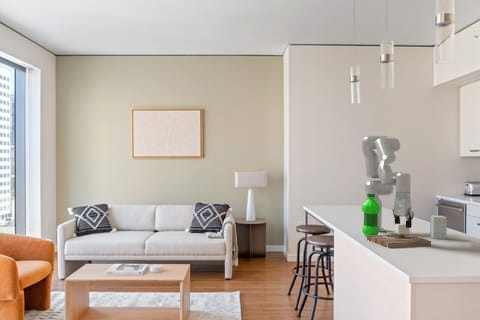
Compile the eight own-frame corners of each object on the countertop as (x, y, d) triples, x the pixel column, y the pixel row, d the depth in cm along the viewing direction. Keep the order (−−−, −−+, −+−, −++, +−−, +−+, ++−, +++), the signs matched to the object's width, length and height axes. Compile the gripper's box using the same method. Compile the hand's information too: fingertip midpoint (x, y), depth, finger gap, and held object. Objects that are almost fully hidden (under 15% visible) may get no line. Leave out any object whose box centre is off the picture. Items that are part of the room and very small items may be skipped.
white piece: (385, 236, 226) (385, 224, 226) (405, 235, 230) (406, 223, 230) (388, 237, 224) (388, 225, 223) (409, 236, 227) (409, 224, 227)
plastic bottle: (371, 234, 248) (372, 192, 248) (383, 237, 238) (384, 194, 238) (357, 235, 245) (358, 193, 245) (369, 238, 235) (369, 194, 235)
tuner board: (366, 239, 231) (366, 234, 231) (406, 238, 238) (406, 233, 237) (388, 247, 212) (388, 242, 212) (431, 245, 218) (431, 240, 218)
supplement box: (446, 239, 235) (447, 217, 235) (432, 238, 237) (433, 216, 236) (443, 237, 242) (443, 215, 242) (429, 236, 244) (430, 215, 244)
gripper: (387, 194, 234) (387, 224, 234) (407, 196, 218) (407, 229, 217) (399, 194, 236) (398, 224, 236) (419, 196, 220) (419, 228, 219)
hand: (402, 226), depth 227 cm, fingers open, 9 cm apart
